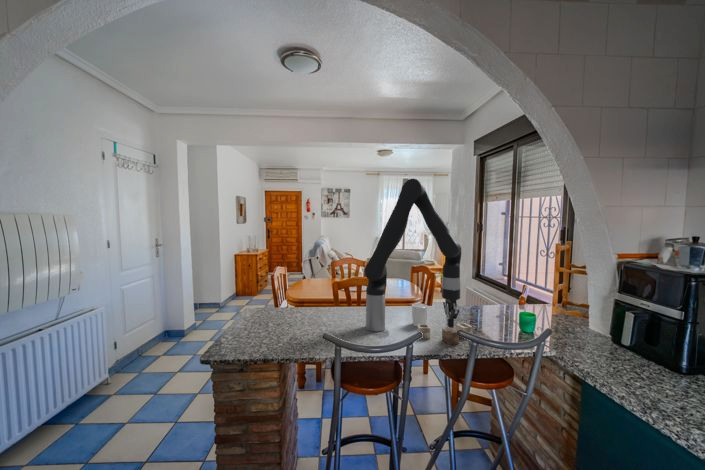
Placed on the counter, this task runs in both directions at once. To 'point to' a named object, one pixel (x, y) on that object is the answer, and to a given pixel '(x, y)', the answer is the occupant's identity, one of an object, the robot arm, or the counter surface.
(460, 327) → the beech cube right
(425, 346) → the counter surface
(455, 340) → the walnut cube
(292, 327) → the counter surface
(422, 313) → the white cup
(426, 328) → the beech cube left
